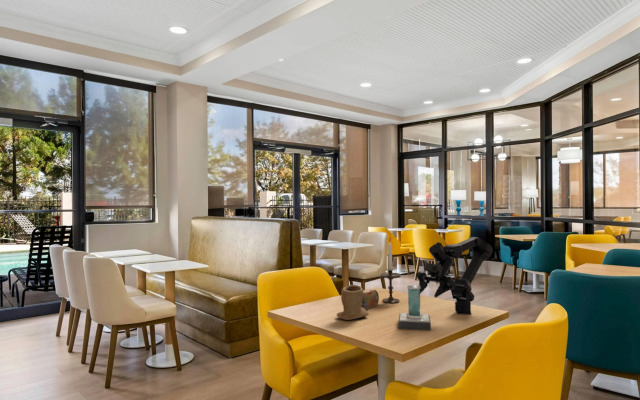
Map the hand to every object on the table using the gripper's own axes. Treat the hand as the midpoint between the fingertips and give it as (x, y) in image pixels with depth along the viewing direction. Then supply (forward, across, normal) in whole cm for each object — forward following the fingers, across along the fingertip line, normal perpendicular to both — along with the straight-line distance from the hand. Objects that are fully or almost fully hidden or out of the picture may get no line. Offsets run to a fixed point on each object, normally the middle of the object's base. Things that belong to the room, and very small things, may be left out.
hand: (426, 295), depth 184 cm
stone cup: (+24, -24, -7) cm, 35 cm away
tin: (+10, -35, +7) cm, 37 cm away
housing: (+11, 0, 0) cm, 11 cm away
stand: (+14, 0, +3) cm, 14 cm away
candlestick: (-2, -38, +19) cm, 43 cm away
